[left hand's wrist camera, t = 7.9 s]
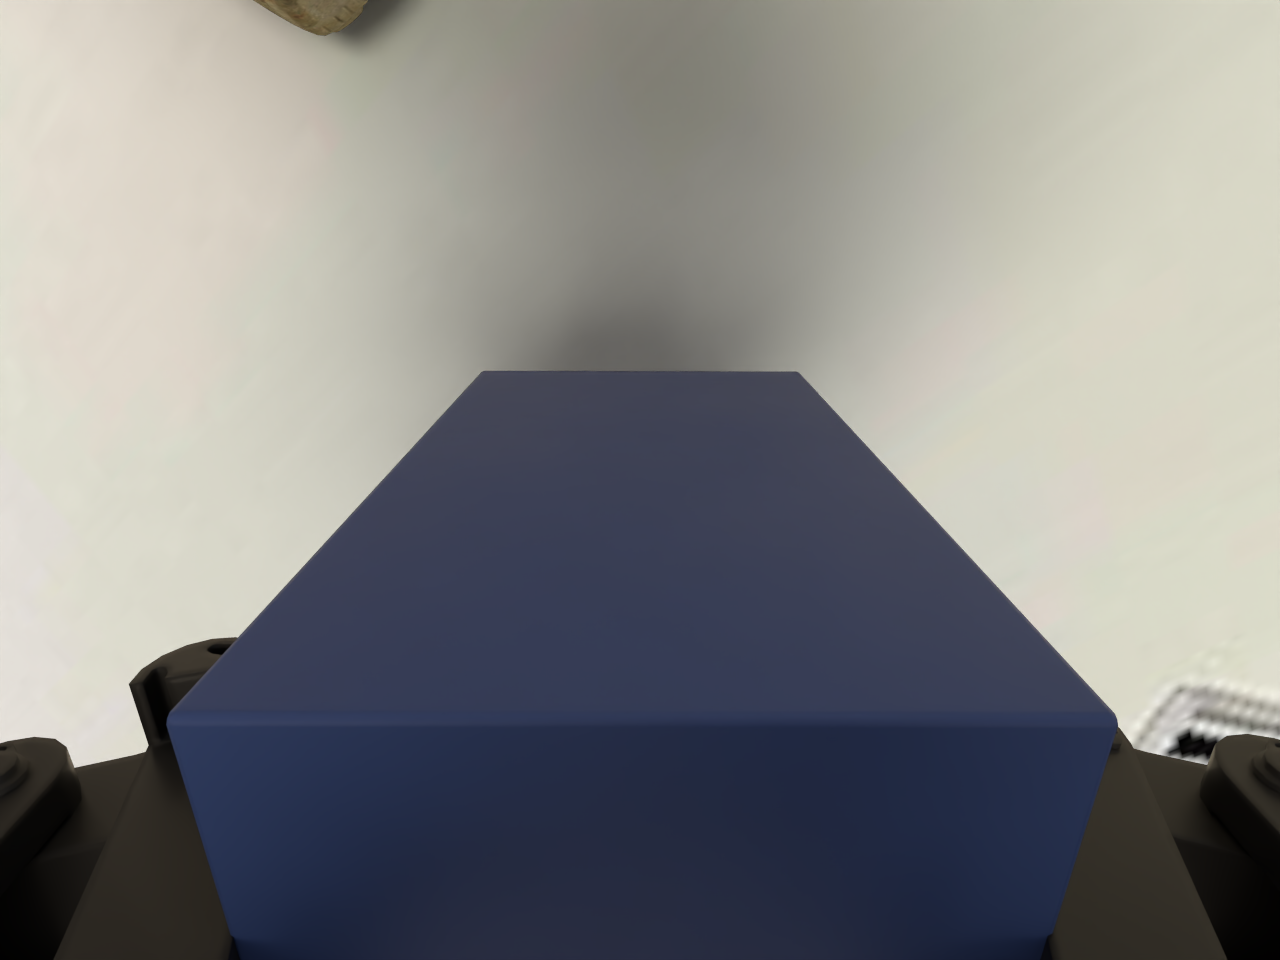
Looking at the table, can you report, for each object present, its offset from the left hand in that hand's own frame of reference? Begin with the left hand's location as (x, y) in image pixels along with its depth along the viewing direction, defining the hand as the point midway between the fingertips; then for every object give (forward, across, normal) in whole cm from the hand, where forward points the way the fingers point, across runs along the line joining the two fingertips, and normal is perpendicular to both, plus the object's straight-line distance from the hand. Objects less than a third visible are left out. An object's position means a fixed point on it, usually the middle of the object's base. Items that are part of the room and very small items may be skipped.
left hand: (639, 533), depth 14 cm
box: (+1, 0, -11) cm, 11 cm away
